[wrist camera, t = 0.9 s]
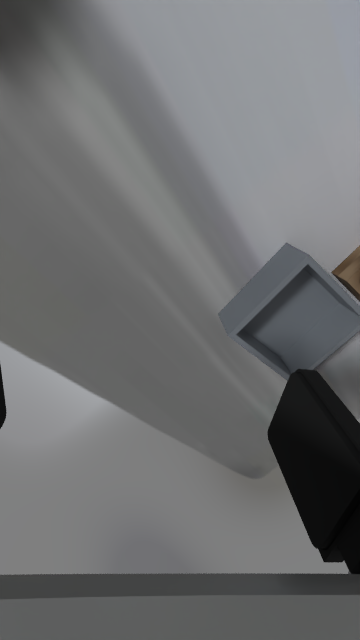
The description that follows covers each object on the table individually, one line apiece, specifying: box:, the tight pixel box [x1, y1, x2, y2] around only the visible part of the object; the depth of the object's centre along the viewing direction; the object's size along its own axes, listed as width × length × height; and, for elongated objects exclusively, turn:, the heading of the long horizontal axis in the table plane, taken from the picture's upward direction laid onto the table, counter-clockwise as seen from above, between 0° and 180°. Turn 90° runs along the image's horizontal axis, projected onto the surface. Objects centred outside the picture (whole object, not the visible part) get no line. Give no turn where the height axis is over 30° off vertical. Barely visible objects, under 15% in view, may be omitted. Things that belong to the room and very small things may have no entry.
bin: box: [218, 243, 360, 381], centre depth 37 cm, size 12×12×6 cm
